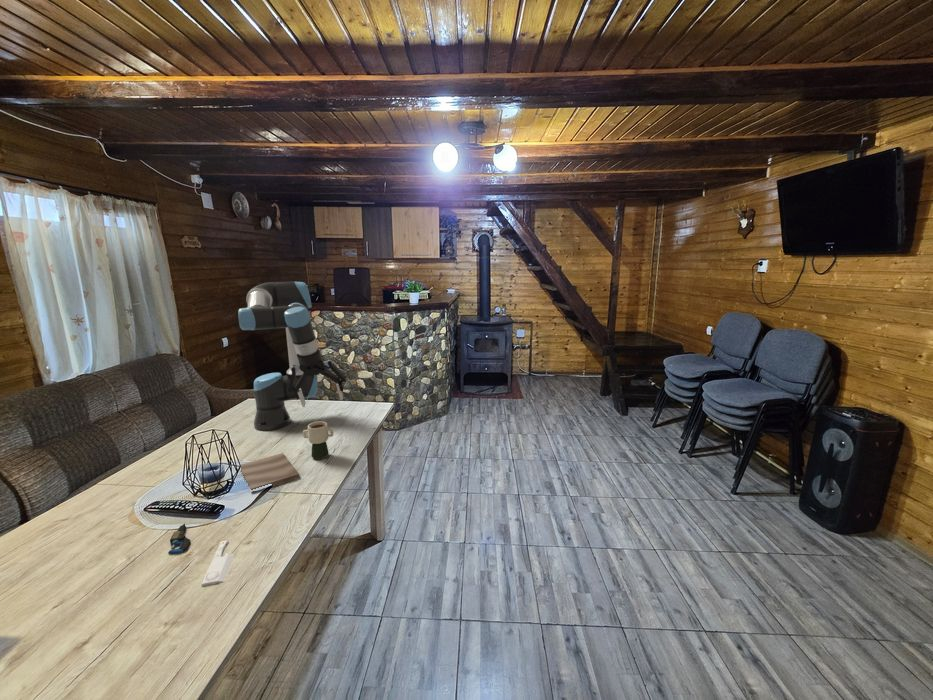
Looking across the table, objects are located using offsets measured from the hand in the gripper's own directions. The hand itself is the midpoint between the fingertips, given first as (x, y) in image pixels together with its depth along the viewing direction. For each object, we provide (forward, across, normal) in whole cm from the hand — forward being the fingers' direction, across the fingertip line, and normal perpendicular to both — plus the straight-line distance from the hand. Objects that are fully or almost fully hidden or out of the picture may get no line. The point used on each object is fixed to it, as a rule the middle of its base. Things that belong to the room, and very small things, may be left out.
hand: (323, 401), depth 148 cm
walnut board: (+17, -21, -13) cm, 30 cm away
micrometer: (+8, -34, -45) cm, 57 cm away
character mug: (+21, -6, -5) cm, 23 cm away
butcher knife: (+7, -20, -56) cm, 60 cm away
